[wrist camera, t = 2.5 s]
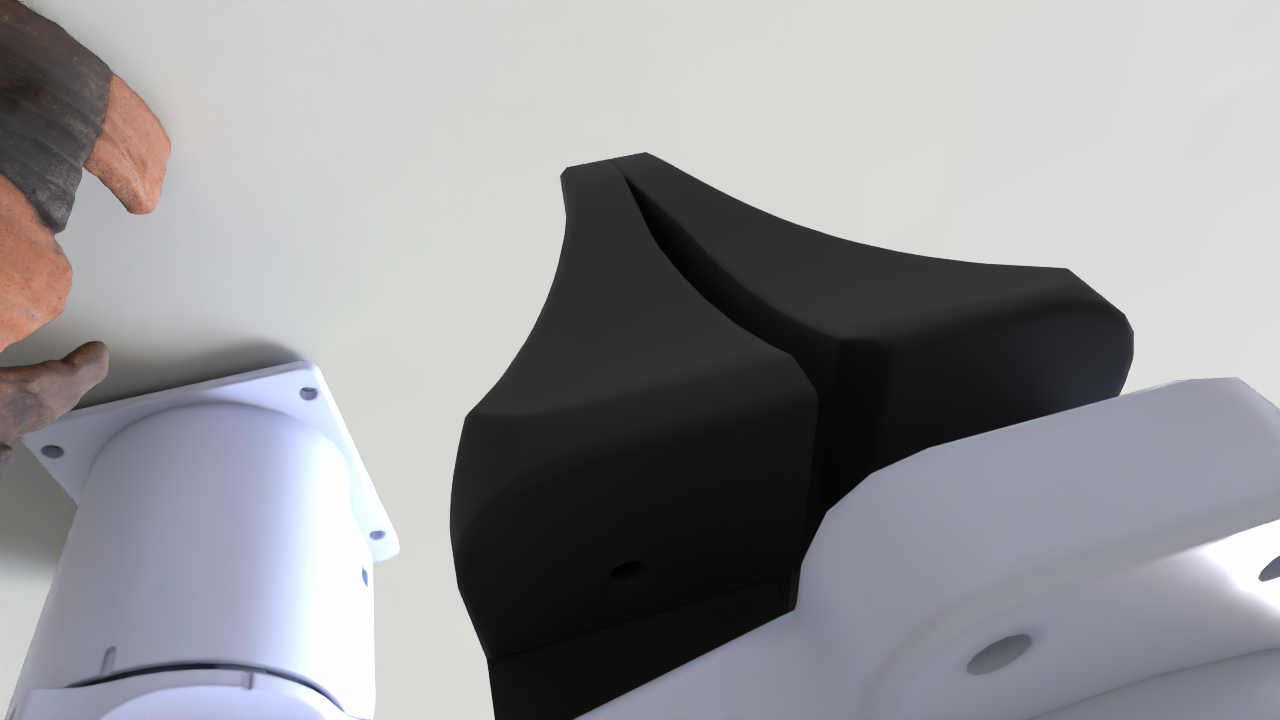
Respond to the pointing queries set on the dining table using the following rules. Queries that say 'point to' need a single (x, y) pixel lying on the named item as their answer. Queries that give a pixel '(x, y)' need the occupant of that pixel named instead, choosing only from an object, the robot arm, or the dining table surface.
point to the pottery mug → (58, 197)
